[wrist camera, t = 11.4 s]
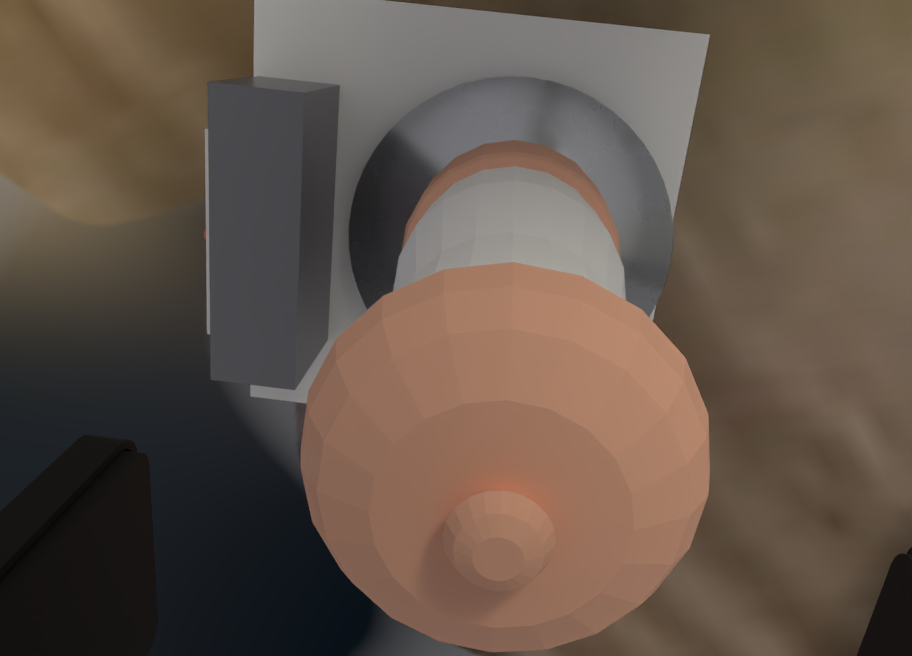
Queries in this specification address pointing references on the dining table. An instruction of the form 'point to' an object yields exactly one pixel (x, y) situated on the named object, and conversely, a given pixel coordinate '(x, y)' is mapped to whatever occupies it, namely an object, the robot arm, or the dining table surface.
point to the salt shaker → (506, 418)
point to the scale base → (358, 134)
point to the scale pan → (503, 119)
